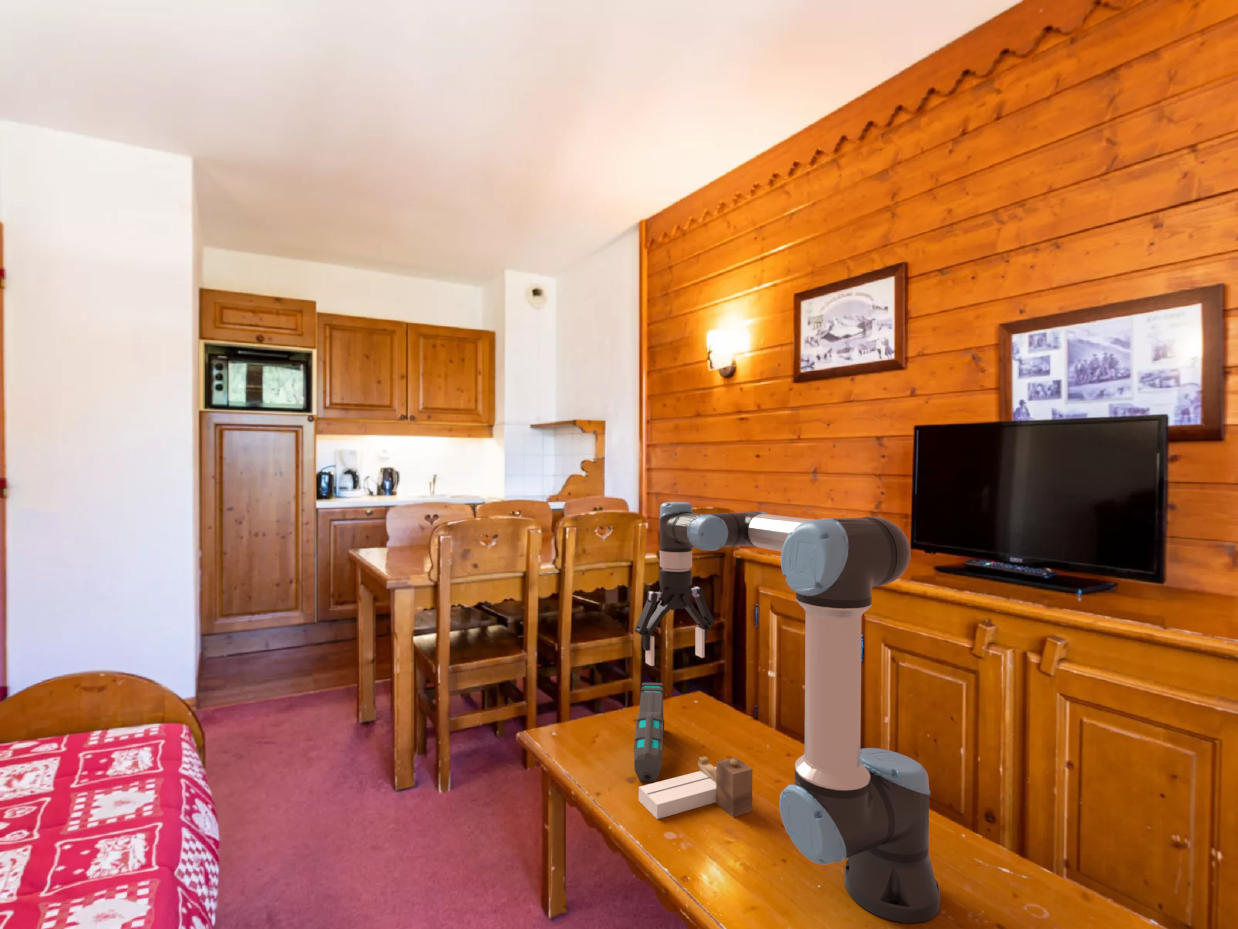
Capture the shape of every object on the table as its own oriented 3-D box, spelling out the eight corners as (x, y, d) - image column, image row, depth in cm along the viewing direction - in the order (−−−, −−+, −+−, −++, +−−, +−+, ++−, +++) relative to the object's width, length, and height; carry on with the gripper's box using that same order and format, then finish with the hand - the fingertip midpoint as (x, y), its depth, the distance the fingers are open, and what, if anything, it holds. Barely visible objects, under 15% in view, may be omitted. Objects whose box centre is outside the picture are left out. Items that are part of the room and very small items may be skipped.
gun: (665, 722, 175) (664, 676, 171) (662, 810, 147) (661, 758, 143) (641, 721, 176) (640, 675, 171) (634, 808, 148) (632, 757, 143)
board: (742, 794, 140) (742, 780, 140) (657, 819, 130) (657, 804, 130) (721, 778, 147) (721, 765, 147) (638, 800, 137) (638, 786, 137)
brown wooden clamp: (752, 811, 133) (752, 764, 133) (732, 817, 131) (733, 769, 131) (710, 778, 147) (710, 735, 147) (692, 783, 145) (692, 740, 145)
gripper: (710, 562, 155) (710, 648, 155) (620, 570, 144) (620, 662, 144) (729, 567, 148) (728, 657, 148) (635, 575, 137) (635, 672, 137)
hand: (675, 660), depth 146 cm, fingers open, 13 cm apart
